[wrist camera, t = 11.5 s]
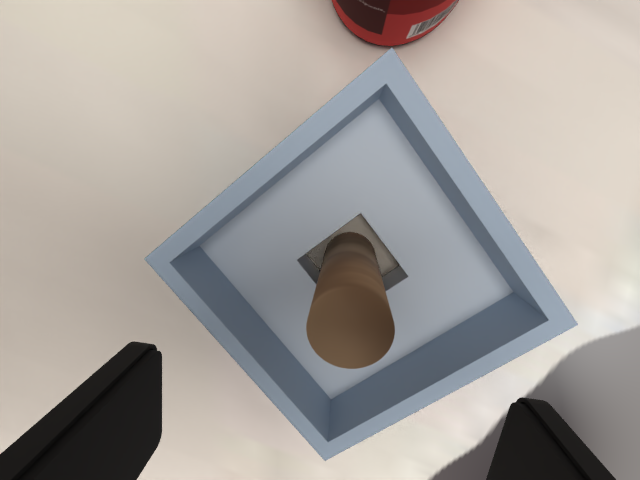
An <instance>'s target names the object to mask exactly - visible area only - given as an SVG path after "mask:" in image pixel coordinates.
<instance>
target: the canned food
mask: <svg viewBox="0 0 640 480" xmlns="http://www.w3.org/2000/svg"><path fill="white" fill-rule="evenodd" d="M458 1H459V0H332V2H333V5H334V7H335V9H336V12H337V14H338V15H339V17H340V18H341V20H342V21H343V23H344V24H345V25H346V26H347V27H348V28H349V29H350V30H351V31H352V32H353V33H354V34H355V35H357V36H358V37H360V38H362V39H364V40H365V41H367V42H370V43H373V44H376V45H384V46H394V45H400V44H406V43H408V42H411V41H414V40H416V39H419V38H421V37H422V36H424V35H426V34H427V33H429V32H431V31H432V30H433V29H434V28H435V27H437V26H438V25H439V24H440V23H441V22H442V21H443V20H444V19H445V18H446V17H447V16H448V14H449V13H450V12H451V11H452V9H453V8H454V7H455V5H456V4H457V3H458Z"/></svg>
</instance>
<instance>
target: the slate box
mask: <svg viewBox="0 0 640 480" xmlns="http://www.w3.org/2000/svg"><path fill="white" fill-rule="evenodd" d="M360 213H361V214H362V215H363V216H364V218H365V219H366V220H367V222H368V223H369V224H370V226H371V227H372V228H373V230H374V231H375V232H376V234H377V235H378V236H379V238H380V239H381V240H382V242H383V243H384V244H385V246H386V247H387V248H388V250H389V251H390V252H391V254H392V255H393V256H394V258H395V259H396V260H397V262H398V263H399V264H400V266H398V267H397V268H395V269H394V270H392V271H391V272H389V273H388V274H386V275H385V276H383V277H382V280H383V284H384V288H385V291H386V295H387V298H388V302H389V306H390V309H391V313H392V317H393V320H394V325H395V335H394V340H393V343H392V345H391V347H390V349H389V351H388V352H387V353H386V354H385V356H384V357H382V358H381V359H380V360H379V361H377V362H376V363H374V364H372V365H370V366H367V367H363V368H358V369H346V368H340V367H337V366H334V365H332V364H330V363H328V362H326V361H324V360H323V359H322V358H321V357H319V356H318V355H317V354H316V353H315V351H314V350H313V348H312V347H311V345H310V343H309V340H308V337H307V332H306V323H307V318H308V315H309V311H310V307H311V303H312V300H313V296H314V292H315V289H316V285H317V281H318V278H319V274H320V271H319V270H318V268H317V267H316V266H315V265H314V263H313V262H312V261H311V260H310V258H309V257H308V256H307V255H306V253H307V252H308V251H310V250H311V249H312V248H314V247H315V246H316V245H318V244H319V243H320V242H322V241H323V240H325V239H326V238H327V237H329V236H330V235H331V234H333V233H334V232H335V231H337V230H338V229H340V228H341V227H342V226H344V225H345V224H346V223H348V222H349V221H350V220H352V219H353V218H355V217H356V216H357V215H359V214H360ZM144 259H145V260H146V262H147V263H148V264H149V265H150V266H151V267H152V268H153V269H154V270H155V272H156V273H157V274H158V275H159V276H160V277H161V278H162V279H163V281H164V282H165V283H166V284H167V285H168V286H169V287H170V288H171V289H172V291H173V292H174V293H175V294H176V295H177V296H178V297H179V298H180V300H181V301H182V302H183V303H184V304H185V305H186V306H187V307H188V308H189V310H190V311H191V312H192V313H193V314H194V315H195V316H196V317H197V319H198V320H199V321H200V322H201V323H202V324H203V325H204V326H205V327H206V329H207V330H208V331H209V332H210V333H211V334H212V335H213V336H214V338H215V339H216V340H217V341H218V342H219V343H220V344H221V345H222V346H223V348H224V349H225V350H226V351H227V352H228V353H229V354H230V355H231V357H232V358H233V359H234V360H235V361H236V362H237V363H238V364H239V365H240V367H241V368H242V369H243V370H244V371H245V372H246V373H247V374H248V376H249V377H250V378H251V379H252V380H253V381H254V382H255V383H256V384H257V386H258V387H259V388H260V389H261V390H262V391H263V392H264V393H265V395H266V396H267V397H268V398H269V399H270V400H271V401H272V402H273V403H274V405H275V406H276V407H277V408H278V409H279V410H280V411H281V412H282V414H283V415H284V416H285V417H286V418H287V419H288V420H289V421H290V422H291V424H292V425H293V426H294V427H295V428H296V429H297V430H298V431H299V433H300V434H301V435H302V436H303V437H304V438H305V439H306V440H307V441H308V443H309V444H310V445H311V446H312V447H313V448H314V449H315V450H316V452H317V453H318V454H319V455H320V456H321V457H322V458H323V459H324V460H325V461H326V460H328V459H329V458H331V457H333V456H335V455H337V454H339V453H341V452H342V451H344V450H346V449H348V448H350V447H352V446H354V445H355V444H357V443H359V442H361V441H363V440H365V439H367V438H368V437H370V436H372V435H374V434H376V433H378V432H380V431H381V430H383V429H385V428H387V427H389V426H391V425H393V424H394V423H396V422H398V421H400V420H402V419H404V418H406V417H407V416H409V415H411V414H413V413H415V412H417V411H419V410H420V409H422V408H424V407H426V406H428V405H430V404H432V403H433V402H435V401H437V400H439V399H441V398H443V397H445V396H446V395H448V394H450V393H452V392H454V391H456V390H458V389H459V388H461V387H463V386H465V385H467V384H469V383H471V382H473V381H474V380H476V379H478V378H480V377H482V376H484V375H486V374H487V373H489V372H491V371H493V370H495V369H497V368H499V367H500V366H502V365H504V364H506V363H508V362H510V361H512V360H513V359H515V358H517V357H519V356H521V355H523V354H525V353H526V352H528V351H530V350H532V349H534V348H536V347H538V346H539V345H541V344H543V343H545V342H547V341H549V340H551V339H552V338H554V337H556V336H558V335H560V334H562V333H564V332H565V331H567V330H569V329H571V328H573V327H575V326H577V325H578V324H577V322H576V321H575V319H574V318H573V316H572V315H571V313H570V312H569V310H568V309H567V307H566V306H565V304H564V303H563V301H562V300H561V298H560V297H559V295H558V294H557V292H556V291H555V289H554V288H553V286H552V285H551V283H550V282H549V280H548V279H547V277H546V276H545V274H544V273H543V271H542V270H541V268H540V267H539V265H538V264H537V262H536V261H535V259H534V258H533V257H532V255H531V254H530V252H529V251H528V249H527V248H526V246H525V245H524V243H523V242H522V240H521V239H520V237H519V236H518V234H517V233H516V231H515V230H514V228H513V227H512V225H511V224H510V222H509V221H508V219H507V218H506V216H505V215H504V213H503V212H502V210H501V209H500V207H499V206H498V204H497V203H496V201H495V200H494V198H493V197H492V195H491V194H490V192H489V191H488V189H487V188H486V186H485V185H484V184H483V182H482V181H481V179H480V178H479V176H478V175H477V173H476V172H475V170H474V169H473V167H472V166H471V164H470V163H469V161H468V160H467V158H466V157H465V155H464V154H463V152H462V151H461V149H460V148H459V146H458V145H457V143H456V142H455V140H454V139H453V137H452V136H451V134H450V133H449V131H448V130H447V128H446V127H445V125H444V124H443V122H442V121H441V119H440V118H439V116H438V115H437V113H436V112H435V110H434V109H433V108H432V106H431V105H430V103H429V102H428V100H427V99H426V97H425V96H424V94H423V93H422V91H421V90H420V88H419V87H418V85H417V84H416V82H415V81H414V79H413V78H412V76H411V75H410V73H409V72H408V70H407V69H406V67H405V66H404V64H403V63H402V61H401V60H400V58H399V57H398V55H397V54H396V52H395V51H394V49H393V48H391V49H390V50H388V51H387V52H386V53H385V54H384V55H383V56H381V57H380V58H379V59H378V60H377V61H376V62H374V63H373V64H372V65H371V66H370V67H368V68H367V69H366V70H365V71H364V72H363V73H361V74H360V75H359V76H358V77H357V78H356V79H354V80H353V81H352V82H351V83H350V84H349V85H347V86H346V87H345V88H344V89H343V90H342V91H340V92H339V93H338V94H337V95H336V96H334V97H333V98H332V99H331V100H330V101H329V102H327V103H326V104H325V105H324V106H323V107H322V108H320V109H319V110H318V111H317V112H316V113H315V114H313V115H312V116H311V117H310V118H309V119H307V120H306V121H305V122H304V123H303V124H302V125H300V126H299V127H298V128H297V129H296V130H295V131H293V132H292V133H291V134H290V135H289V136H288V137H286V138H285V139H284V140H283V141H282V142H281V143H279V144H278V145H277V146H276V147H275V148H273V149H272V150H271V151H270V152H269V153H268V154H266V155H265V156H264V157H263V158H262V159H261V160H259V161H258V162H257V163H256V164H255V165H254V166H252V167H251V168H250V169H249V170H248V171H247V172H245V173H244V174H243V175H242V176H241V177H239V178H238V179H237V180H236V181H235V182H234V183H232V184H231V185H230V186H229V187H228V188H227V189H225V190H224V191H223V192H222V193H221V194H220V195H218V196H217V197H216V198H215V199H214V200H212V201H211V202H210V203H209V204H208V205H207V206H205V207H204V208H203V209H202V210H201V211H200V212H198V213H197V214H196V215H195V216H194V217H193V218H191V219H190V220H189V221H188V222H187V223H186V224H184V225H183V226H182V227H181V228H180V229H178V230H177V231H176V232H175V233H174V234H173V235H171V236H170V237H169V238H168V239H167V240H166V241H164V242H163V243H162V244H161V245H160V246H159V247H157V248H156V249H155V250H154V251H153V252H152V253H150V254H149V255H148V256H147V257H146V258H144Z"/></svg>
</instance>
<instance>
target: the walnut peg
mask: <svg viewBox="0 0 640 480" xmlns="http://www.w3.org/2000/svg"><path fill="white" fill-rule="evenodd" d="M306 332H307V337H308V340H309V343H310V345H311V347H312V348H313V350H314V351H315V353H316V354H317V355H318V356H319V357H321V358H322V359H323V360H324V361H326V362H328V363H330V364H332V365H334V366H337V367H340V368H346V369H358V368H363V367H367V366H370V365H372V364H374V363H376V362H377V361H379V360H380V359H381V358H382V357H384V356H385V354H386V353H387V352H388V351H389V349H390V347H391V345H392V343H393V340H394V335H395V325H394V320H393V317H392V313H391V309H390V306H389V302H388V298H387V295H386V291H385V288H384V284H383V280H382V277H381V273H380V269H379V266H378V262H377V259H376V255H375V251H374V248H373V246H372V244H371V243H370V241H369V240H368V239H367V238H366V237H364V236H362V235H360V234H358V233H353V232H347V233H342V234H340V235H337V236H336V237H334V238H333V239H332V240H331V241H330V243H329V244H328V246H327V248H326V252H325V255H324V259H323V263H322V266H321V270H320V274H319V278H318V281H317V285H316V289H315V292H314V296H313V300H312V303H311V307H310V311H309V315H308V318H307V323H306Z"/></svg>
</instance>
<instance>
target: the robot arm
mask: <svg viewBox="0 0 640 480" xmlns="http://www.w3.org/2000/svg"><path fill="white" fill-rule="evenodd" d="M161 434H162V354H161V352H160V351H157V348H156V346H155V345H154V344H147V343H140V342H130V343H129V344H127V345H126V346H125V347H124V348H123V349H122V350H121V351H119V352H118V353H117V354H116V355H115V356H114V357H112V358H111V359H110V360H109V361H108V362H107V363H105V364H104V365H103V366H102V367H101V368H100V369H99V370H97V371H96V372H95V373H94V374H93V375H92V376H90V377H89V378H88V379H87V380H86V381H85V382H83V383H82V384H81V385H80V386H79V387H78V388H77V389H75V390H74V391H73V392H72V393H71V394H70V395H68V396H67V397H66V398H65V399H64V400H63V401H61V402H60V403H59V404H58V405H57V406H56V407H55V408H53V409H52V410H51V411H50V412H49V413H48V414H46V415H45V416H44V417H43V418H42V419H41V420H39V421H38V422H37V423H36V424H35V425H34V426H33V427H31V428H30V429H29V430H28V431H27V432H26V433H24V434H23V435H22V436H21V437H20V438H19V439H17V440H16V441H15V442H14V443H13V444H12V445H11V446H9V447H8V448H7V449H6V450H5V451H4V452H2V453H1V454H0V480H137V478H138V477H139V475H140V473H141V472H142V470H143V469H144V467H145V466H146V464H147V462H148V461H149V459H150V458H151V456H152V455H153V453H154V451H155V450H156V448H157V446H158V444H159V442H160V439H161ZM486 480H616V479H615V478H614V477H613V476H612V474H611V473H610V472H609V471H608V470H607V469H606V468H605V467H604V465H603V464H602V463H601V462H600V461H599V460H598V459H597V457H596V456H595V455H594V454H593V453H592V452H591V451H590V449H589V448H588V447H587V446H586V445H585V444H584V443H583V442H582V440H581V439H580V438H579V437H578V436H577V435H576V434H575V432H574V431H573V430H572V429H571V428H570V427H569V426H568V424H567V423H566V422H565V421H564V420H563V419H562V418H561V417H560V415H559V414H558V413H557V412H556V411H555V410H554V409H553V408H552V406H551V405H550V404H548V403H547V402H545V401H543V400H536V399H529V398H519V399H518V400H517V401H516V403H512V404H511V406H510V408H509V411H508V414H507V417H506V420H505V423H504V427H503V430H502V433H501V436H500V439H499V442H498V445H497V448H496V451H495V454H494V457H493V460H492V463H491V466H490V469H489V472H488V475H487V479H486Z"/></svg>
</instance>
